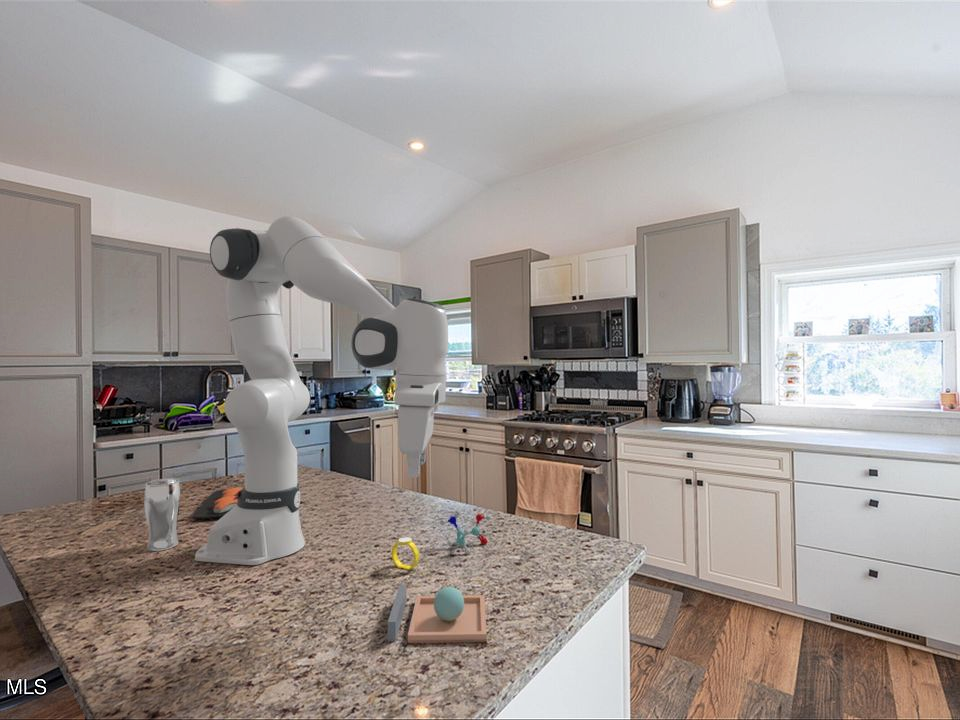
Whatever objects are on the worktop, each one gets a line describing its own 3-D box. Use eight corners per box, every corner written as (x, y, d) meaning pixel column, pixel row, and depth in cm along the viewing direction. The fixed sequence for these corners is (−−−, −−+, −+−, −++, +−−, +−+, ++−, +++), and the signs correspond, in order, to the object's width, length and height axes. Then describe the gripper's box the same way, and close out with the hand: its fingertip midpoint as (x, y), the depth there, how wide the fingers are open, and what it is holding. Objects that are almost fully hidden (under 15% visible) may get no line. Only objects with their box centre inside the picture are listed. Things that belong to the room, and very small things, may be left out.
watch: (390, 569, 99) (388, 540, 99) (398, 564, 101) (396, 535, 101) (414, 572, 96) (412, 542, 96) (421, 567, 98) (419, 538, 99)
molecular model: (485, 544, 102) (467, 500, 106) (448, 563, 103) (432, 519, 107) (501, 541, 112) (485, 501, 116) (467, 558, 114) (452, 518, 118)
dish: (407, 643, 72) (407, 635, 72) (416, 602, 84) (416, 596, 84) (486, 642, 72) (486, 634, 72) (484, 601, 84) (484, 595, 84)
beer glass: (187, 543, 112) (187, 479, 112) (156, 554, 106) (156, 487, 106) (168, 538, 115) (168, 476, 115) (137, 549, 109) (137, 483, 109)
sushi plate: (214, 495, 154) (214, 484, 154) (312, 488, 163) (312, 476, 163) (189, 525, 126) (189, 511, 126) (309, 513, 135) (309, 500, 135)
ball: (432, 627, 76) (432, 597, 76) (435, 610, 81) (434, 581, 80) (464, 627, 76) (463, 596, 76) (464, 609, 81) (464, 580, 81)
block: (387, 641, 73) (387, 621, 73) (399, 601, 85) (399, 584, 85) (395, 641, 73) (395, 621, 73) (406, 601, 85) (406, 584, 85)
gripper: (410, 386, 94) (407, 456, 94) (392, 394, 73) (388, 484, 73) (442, 388, 94) (439, 458, 94) (433, 396, 73) (429, 486, 74)
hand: (416, 469), depth 84 cm, fingers open, 8 cm apart
